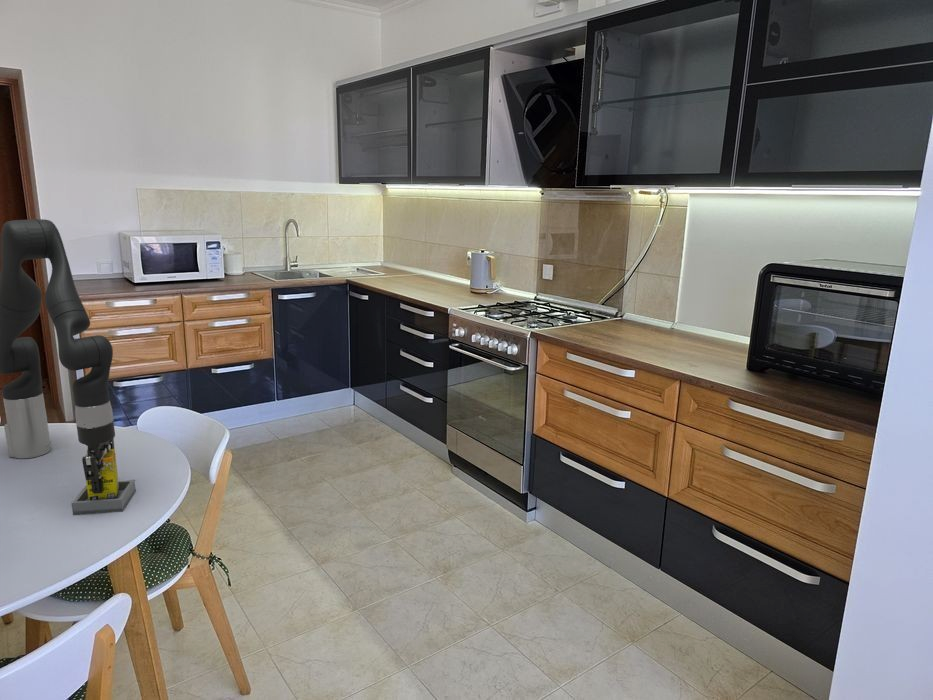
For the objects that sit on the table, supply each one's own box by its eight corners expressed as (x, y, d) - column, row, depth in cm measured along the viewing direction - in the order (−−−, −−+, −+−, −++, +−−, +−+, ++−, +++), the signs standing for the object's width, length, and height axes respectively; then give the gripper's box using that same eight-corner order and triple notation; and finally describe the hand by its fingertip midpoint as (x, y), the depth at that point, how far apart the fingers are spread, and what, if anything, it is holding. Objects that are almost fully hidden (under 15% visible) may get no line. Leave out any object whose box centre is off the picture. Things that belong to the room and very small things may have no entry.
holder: (73, 515, 148) (71, 503, 147) (89, 494, 158) (88, 482, 157) (122, 511, 150) (121, 499, 149) (135, 490, 160) (134, 479, 159)
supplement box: (88, 504, 150) (83, 461, 147) (92, 492, 155) (86, 451, 152) (117, 499, 152) (112, 457, 149) (119, 488, 157) (114, 447, 154)
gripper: (88, 411, 155) (96, 474, 159) (64, 432, 141) (74, 501, 145) (122, 409, 156) (129, 472, 160) (101, 431, 142) (110, 498, 147)
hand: (103, 485), depth 153 cm, fingers closed on supplement box, 6 cm apart
